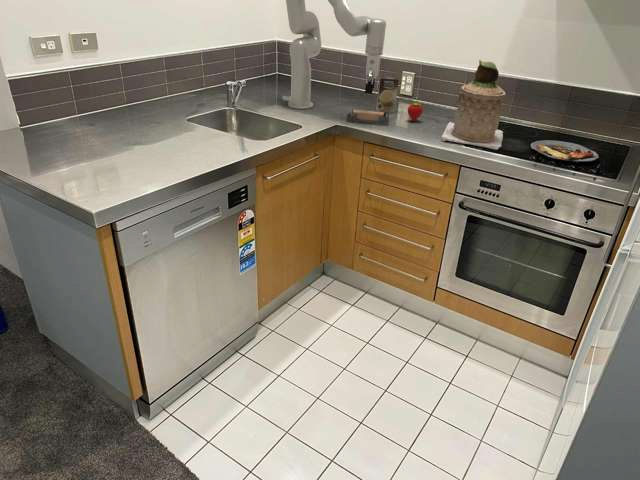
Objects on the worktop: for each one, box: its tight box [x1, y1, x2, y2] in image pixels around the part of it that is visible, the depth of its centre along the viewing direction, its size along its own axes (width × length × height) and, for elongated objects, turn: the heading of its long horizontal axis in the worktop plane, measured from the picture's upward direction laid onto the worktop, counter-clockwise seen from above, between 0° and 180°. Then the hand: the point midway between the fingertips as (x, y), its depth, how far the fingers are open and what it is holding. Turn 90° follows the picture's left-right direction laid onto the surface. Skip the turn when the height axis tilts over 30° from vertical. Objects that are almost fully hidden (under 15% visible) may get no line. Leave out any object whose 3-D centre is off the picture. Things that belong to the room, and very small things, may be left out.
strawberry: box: [407, 99, 424, 122], centre depth 225 cm, size 6×8×10 cm
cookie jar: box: [441, 59, 507, 151], centre depth 202 cm, size 25×25×32 cm
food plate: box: [530, 139, 600, 163], centre depth 195 cm, size 25×23×4 cm
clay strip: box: [353, 109, 384, 121], centre depth 224 cm, size 4×14×3 cm, turn 80°
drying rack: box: [345, 109, 390, 127], centre depth 224 cm, size 19×10×4 cm, turn 80°
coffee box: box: [375, 75, 400, 114], centre depth 237 cm, size 9×6×16 cm
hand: (369, 90), depth 219 cm, fingers open, 9 cm apart
